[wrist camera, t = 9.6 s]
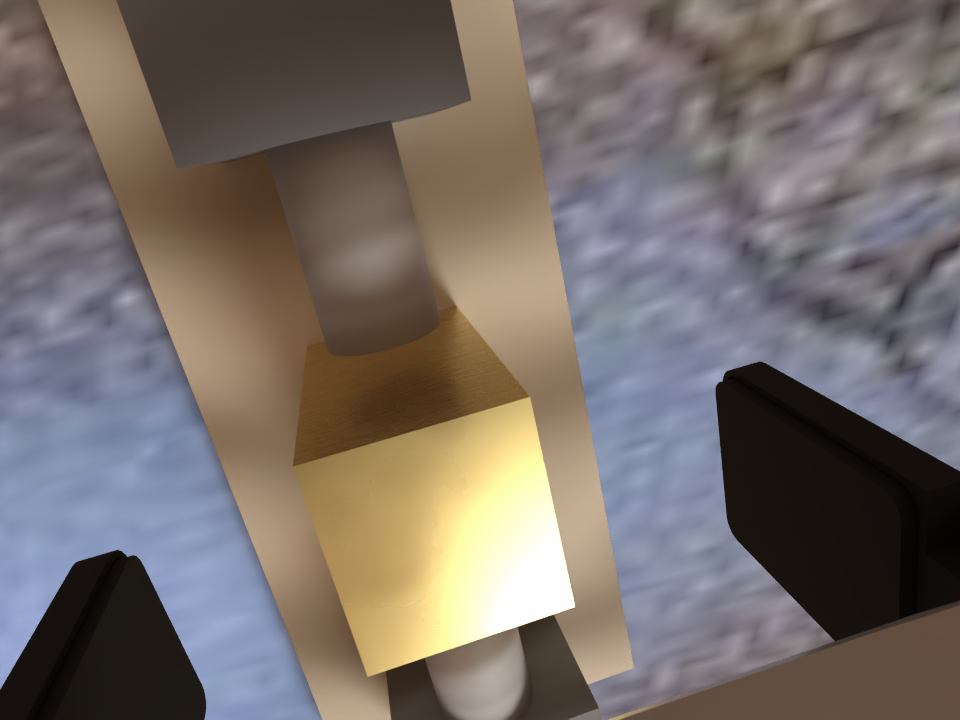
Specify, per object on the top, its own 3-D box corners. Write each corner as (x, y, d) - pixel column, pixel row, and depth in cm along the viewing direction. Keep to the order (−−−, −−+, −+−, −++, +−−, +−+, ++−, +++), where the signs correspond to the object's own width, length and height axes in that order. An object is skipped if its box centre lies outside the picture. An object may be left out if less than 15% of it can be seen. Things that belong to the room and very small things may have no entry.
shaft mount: (52, -16, 15) (-132, -125, 9) (477, -98, 16) (563, -241, 10) (342, 733, 23) (346, 943, 17) (616, 638, 24) (712, 802, 18)
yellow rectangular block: (306, 346, 17) (292, 466, 11) (456, 305, 18) (530, 397, 11) (354, 492, 19) (367, 676, 12) (491, 451, 19) (574, 606, 13)
